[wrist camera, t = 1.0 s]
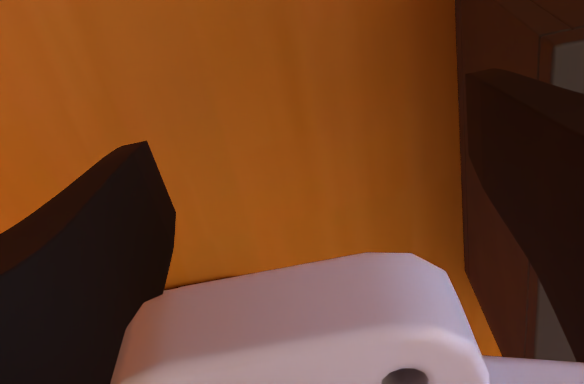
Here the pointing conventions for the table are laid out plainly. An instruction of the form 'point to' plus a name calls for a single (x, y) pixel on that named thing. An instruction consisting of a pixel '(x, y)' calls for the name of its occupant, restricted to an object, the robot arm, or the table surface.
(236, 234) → the table surface
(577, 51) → the drawer cabinet
